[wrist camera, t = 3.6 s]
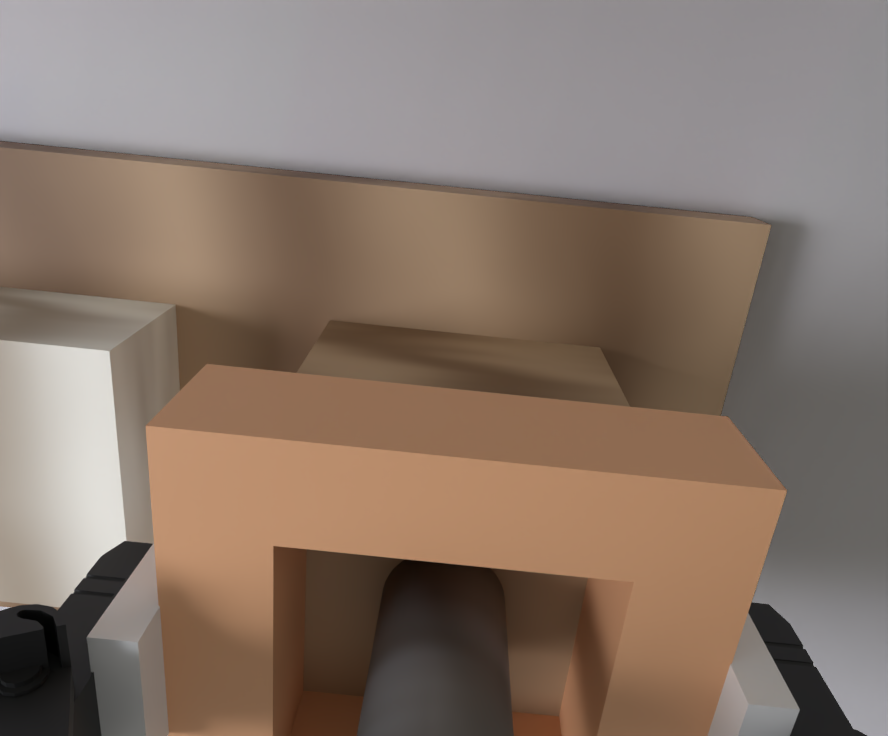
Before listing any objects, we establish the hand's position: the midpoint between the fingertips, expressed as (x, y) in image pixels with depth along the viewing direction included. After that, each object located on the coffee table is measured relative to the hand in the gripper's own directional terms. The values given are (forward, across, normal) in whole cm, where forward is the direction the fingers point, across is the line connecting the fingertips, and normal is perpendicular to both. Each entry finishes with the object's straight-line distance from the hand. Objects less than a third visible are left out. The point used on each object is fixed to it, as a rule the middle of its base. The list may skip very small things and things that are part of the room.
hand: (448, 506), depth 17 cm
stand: (+4, -5, 0) cm, 6 cm away
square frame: (-3, 0, 0) cm, 3 cm away
